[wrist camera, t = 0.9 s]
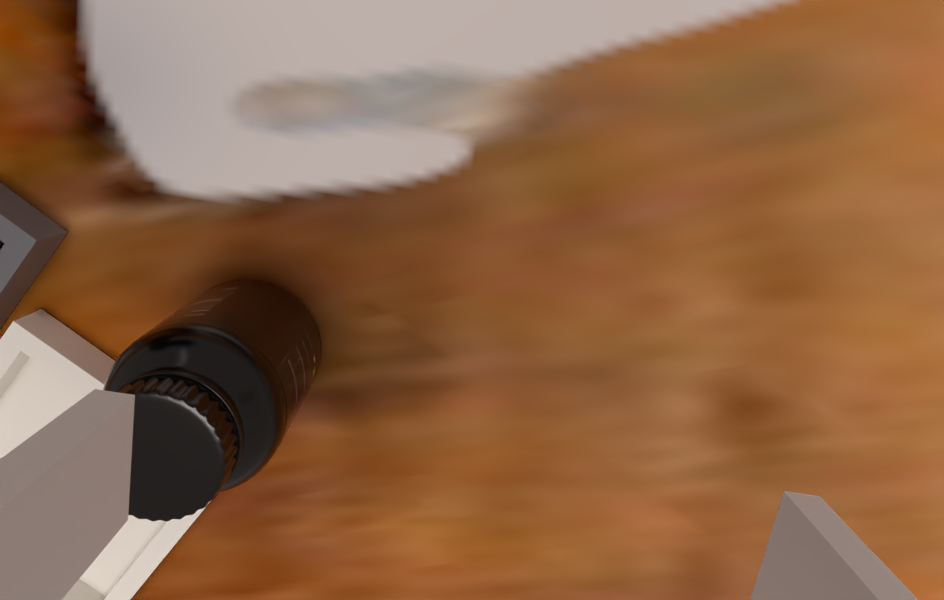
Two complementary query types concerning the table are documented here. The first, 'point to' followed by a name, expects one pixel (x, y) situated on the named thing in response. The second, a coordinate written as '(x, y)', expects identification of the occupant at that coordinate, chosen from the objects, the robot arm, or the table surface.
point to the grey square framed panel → (22, 247)
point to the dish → (42, 400)
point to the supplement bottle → (213, 394)
